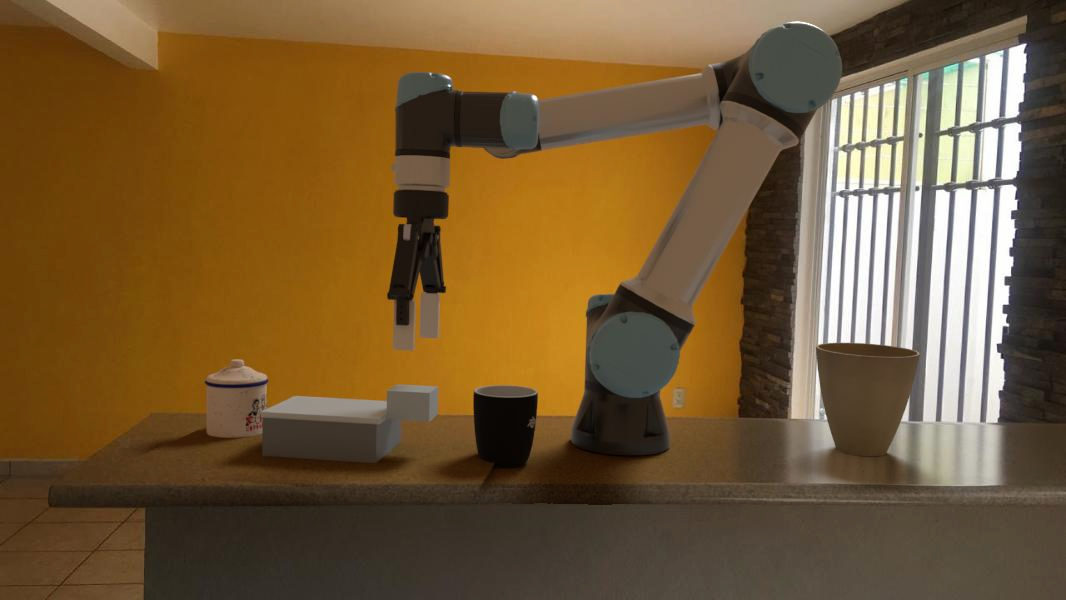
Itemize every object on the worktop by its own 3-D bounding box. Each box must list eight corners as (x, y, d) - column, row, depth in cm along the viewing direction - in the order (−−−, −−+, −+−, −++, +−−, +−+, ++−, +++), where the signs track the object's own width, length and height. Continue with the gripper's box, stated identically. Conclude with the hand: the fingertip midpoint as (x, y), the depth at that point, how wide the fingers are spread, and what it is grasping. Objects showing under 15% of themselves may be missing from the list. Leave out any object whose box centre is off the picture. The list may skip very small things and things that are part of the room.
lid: (442, 415, 126) (443, 382, 126) (422, 433, 115) (423, 397, 115) (294, 406, 129) (295, 374, 129) (260, 423, 118) (261, 388, 117)
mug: (535, 472, 117) (537, 398, 116) (468, 469, 117) (470, 395, 116) (536, 449, 129) (538, 382, 128) (476, 447, 129) (478, 380, 128)
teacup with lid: (257, 444, 127) (257, 365, 126) (195, 442, 127) (195, 363, 126) (281, 425, 139) (281, 353, 138) (224, 424, 139) (224, 352, 138)
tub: (400, 447, 128) (401, 407, 127) (375, 468, 116) (376, 424, 116) (297, 440, 130) (297, 401, 129) (262, 461, 118) (262, 417, 118)
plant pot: (795, 438, 141) (800, 341, 140) (882, 439, 142) (889, 343, 141) (835, 463, 126) (841, 355, 125) (932, 464, 127) (939, 356, 126)
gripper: (418, 193, 131) (414, 331, 133) (366, 183, 107) (361, 354, 108) (466, 194, 130) (462, 334, 132) (425, 185, 106) (420, 357, 107)
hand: (417, 343), depth 120 cm, fingers open, 13 cm apart
